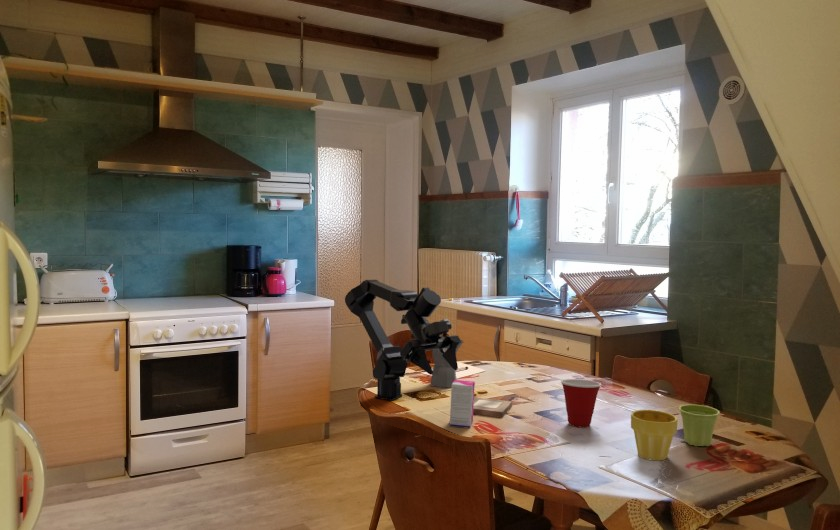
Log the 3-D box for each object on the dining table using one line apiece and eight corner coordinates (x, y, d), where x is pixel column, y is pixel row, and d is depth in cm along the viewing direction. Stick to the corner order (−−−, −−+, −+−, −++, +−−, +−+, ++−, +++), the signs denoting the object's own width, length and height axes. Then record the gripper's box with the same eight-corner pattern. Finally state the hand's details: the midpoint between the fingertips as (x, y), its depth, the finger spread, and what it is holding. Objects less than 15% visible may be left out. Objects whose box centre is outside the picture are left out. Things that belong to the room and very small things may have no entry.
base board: (461, 412, 192) (461, 406, 192) (473, 401, 203) (473, 396, 203) (502, 417, 188) (502, 411, 187) (512, 406, 199) (512, 401, 199)
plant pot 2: (714, 452, 162) (716, 417, 162) (674, 444, 167) (675, 410, 167) (720, 441, 170) (722, 408, 170) (681, 434, 175) (683, 402, 175)
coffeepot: (458, 380, 229) (460, 328, 228) (466, 387, 220) (468, 333, 219) (414, 382, 226) (416, 329, 225) (421, 389, 217) (422, 334, 216)
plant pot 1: (650, 466, 152) (652, 424, 152) (620, 451, 162) (622, 411, 161) (685, 460, 156) (687, 419, 156) (653, 446, 166) (655, 407, 165)
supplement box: (471, 428, 177) (472, 385, 176) (449, 426, 178) (450, 384, 177) (473, 422, 183) (474, 380, 182) (452, 420, 184) (453, 379, 183)
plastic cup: (601, 421, 186) (602, 378, 185) (598, 432, 176) (600, 387, 175) (561, 416, 190) (563, 374, 189) (556, 427, 179) (558, 383, 179)
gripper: (407, 312, 183) (432, 358, 175) (457, 307, 194) (483, 351, 187) (389, 336, 189) (413, 382, 181) (439, 330, 201) (463, 373, 193)
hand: (444, 371), depth 185 cm, fingers open, 9 cm apart
